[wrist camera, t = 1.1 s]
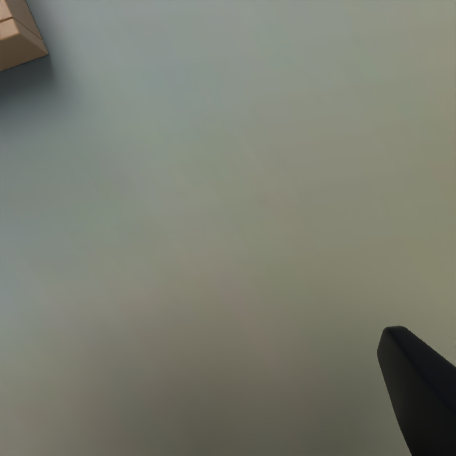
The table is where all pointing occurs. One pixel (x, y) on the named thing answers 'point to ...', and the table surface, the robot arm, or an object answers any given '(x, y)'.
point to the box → (18, 35)
